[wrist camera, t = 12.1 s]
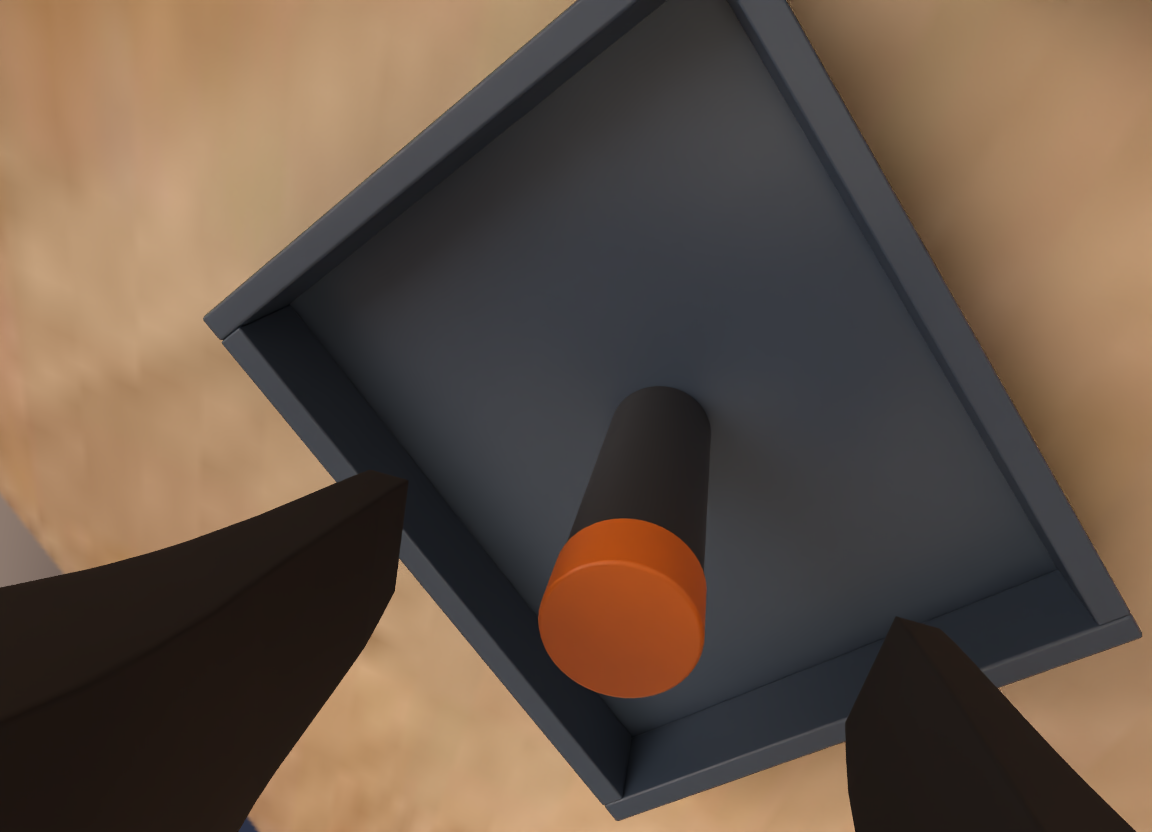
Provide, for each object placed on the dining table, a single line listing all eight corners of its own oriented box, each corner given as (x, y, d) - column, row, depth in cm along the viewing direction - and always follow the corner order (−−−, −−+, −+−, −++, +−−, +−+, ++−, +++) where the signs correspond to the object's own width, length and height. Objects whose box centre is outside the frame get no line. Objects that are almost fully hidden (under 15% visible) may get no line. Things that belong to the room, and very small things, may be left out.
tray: (1088, 564, 17) (1145, 638, 14) (628, 745, 21) (616, 823, 19) (720, -83, 13) (718, -121, 11) (267, 291, 18) (199, 318, 15)
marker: (735, 421, 16) (739, 624, 10) (673, 496, 17) (642, 726, 11) (646, 362, 16) (593, 530, 10) (589, 441, 17) (507, 641, 11)
